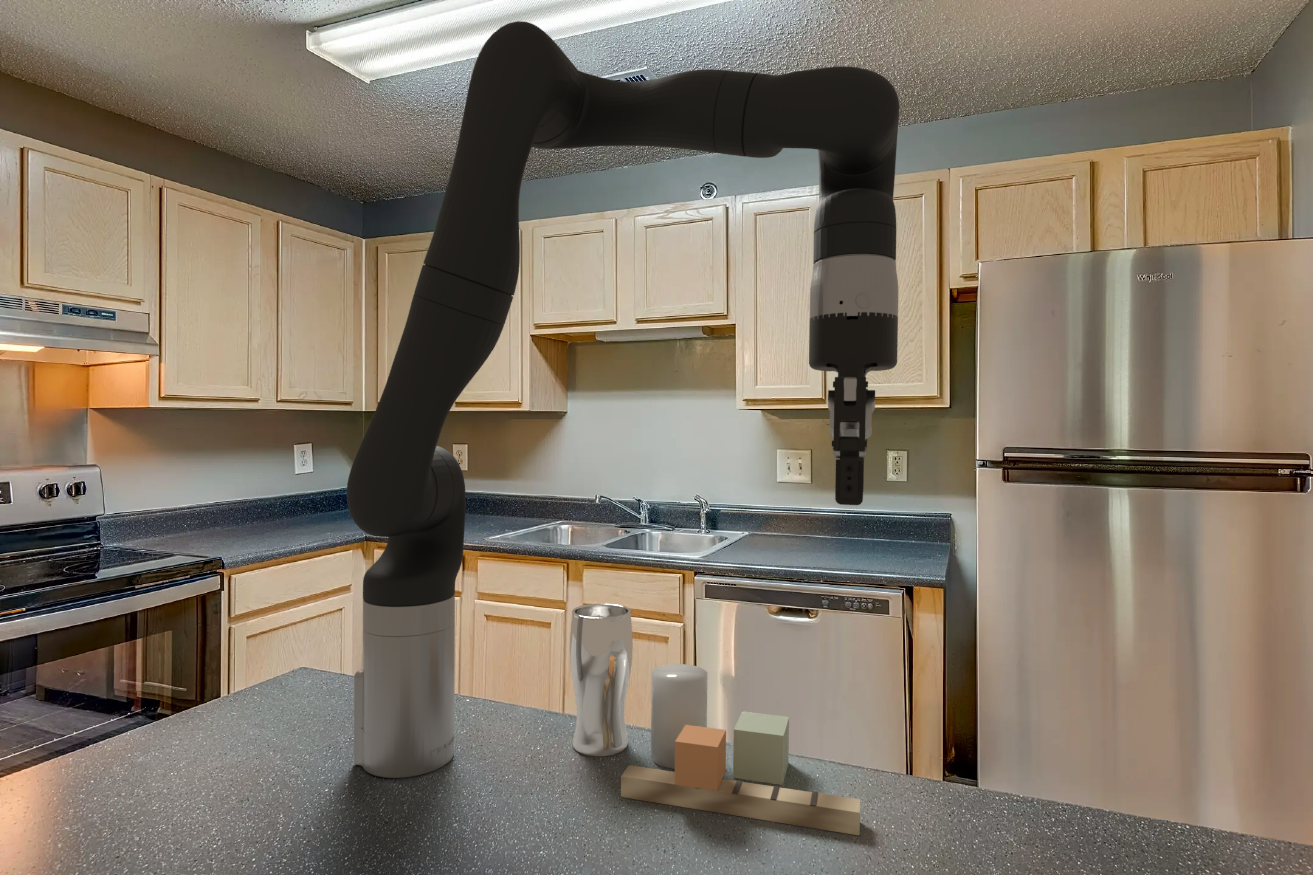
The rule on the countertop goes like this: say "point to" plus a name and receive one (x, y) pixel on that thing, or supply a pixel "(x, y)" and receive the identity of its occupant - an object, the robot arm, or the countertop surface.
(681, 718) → the grey rounded cylinder
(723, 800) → the rail
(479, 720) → the countertop surface
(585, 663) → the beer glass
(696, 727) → the block
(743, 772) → the sage block
